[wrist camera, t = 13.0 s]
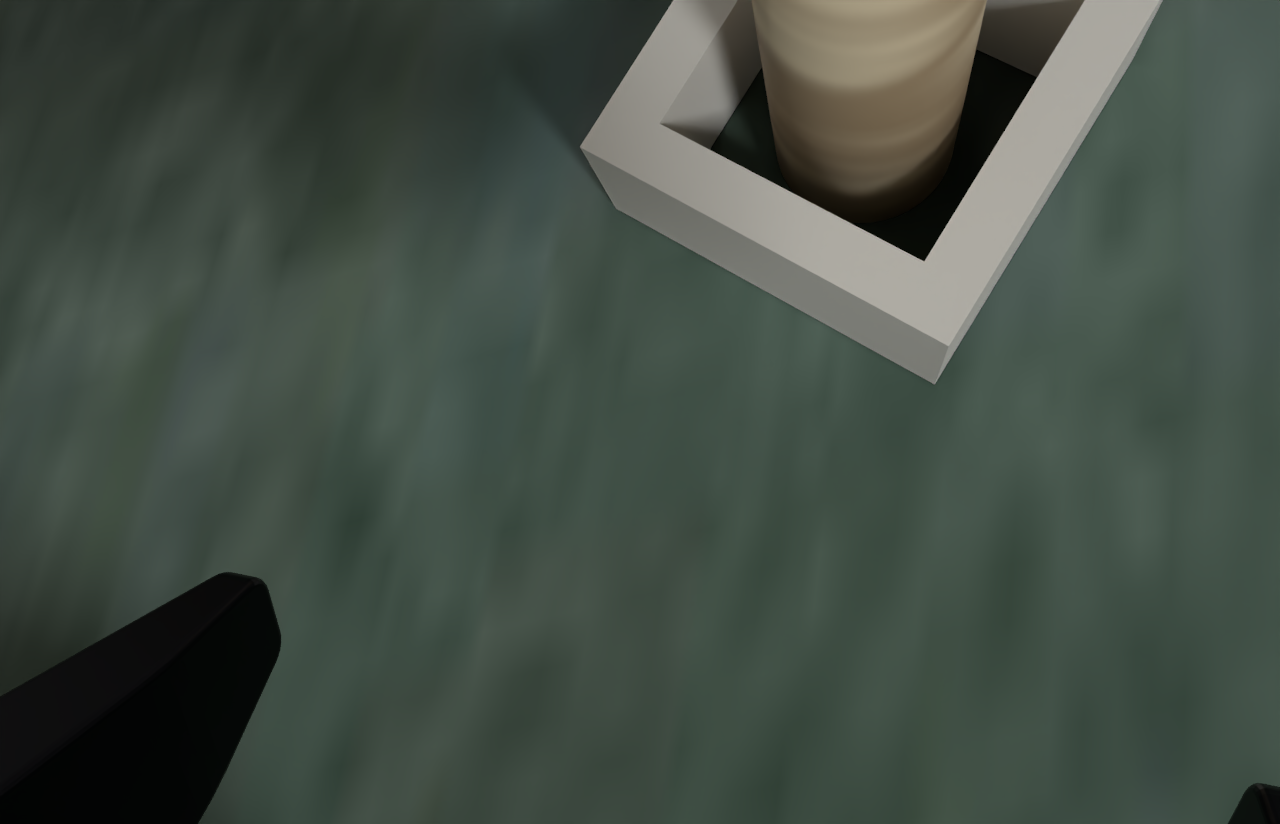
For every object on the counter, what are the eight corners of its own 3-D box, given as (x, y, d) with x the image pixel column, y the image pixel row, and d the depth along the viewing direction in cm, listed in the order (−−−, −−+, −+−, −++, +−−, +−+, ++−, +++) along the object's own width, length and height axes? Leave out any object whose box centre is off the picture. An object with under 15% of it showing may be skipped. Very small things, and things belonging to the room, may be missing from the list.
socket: (934, 384, 23) (948, 346, 20) (615, 208, 25) (579, 146, 22) (1131, 62, 24) (1177, -29, 20) (801, -85, 26) (794, -189, 23)
